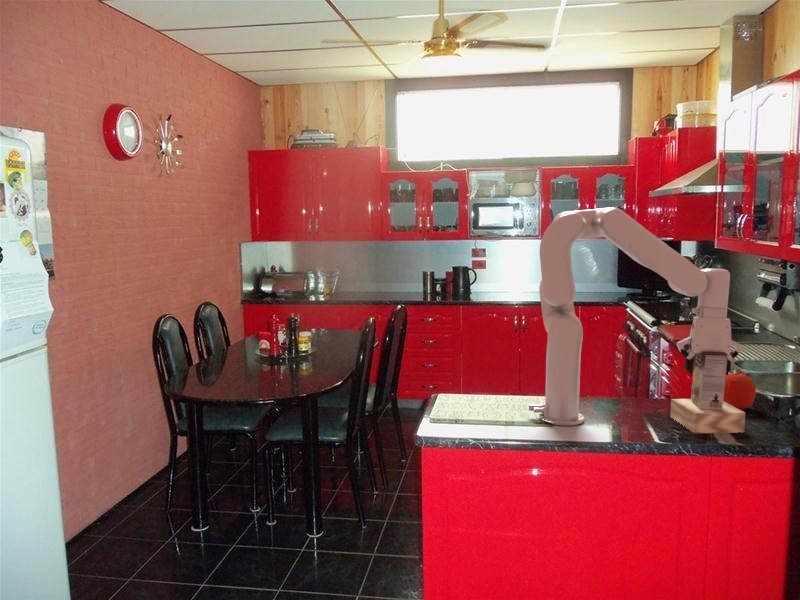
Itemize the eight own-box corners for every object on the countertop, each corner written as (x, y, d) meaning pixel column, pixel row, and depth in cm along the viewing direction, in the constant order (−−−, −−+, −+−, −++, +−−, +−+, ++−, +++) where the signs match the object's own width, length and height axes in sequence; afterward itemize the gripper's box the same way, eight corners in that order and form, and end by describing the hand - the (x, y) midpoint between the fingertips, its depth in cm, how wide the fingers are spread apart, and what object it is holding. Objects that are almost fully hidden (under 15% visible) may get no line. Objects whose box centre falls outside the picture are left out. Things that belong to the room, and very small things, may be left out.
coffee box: (689, 399, 189) (694, 345, 186) (713, 400, 188) (718, 346, 185) (699, 409, 180) (704, 352, 177) (723, 410, 179) (729, 354, 176)
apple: (758, 407, 201) (761, 371, 199) (748, 415, 193) (751, 377, 192) (723, 401, 207) (725, 366, 206) (712, 408, 200) (715, 371, 199)
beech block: (694, 434, 177) (695, 413, 176) (670, 418, 191) (671, 399, 190) (743, 433, 178) (745, 412, 177) (716, 418, 192) (717, 398, 191)
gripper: (683, 313, 177) (679, 375, 180) (750, 316, 176) (744, 377, 178) (675, 310, 185) (671, 368, 187) (739, 312, 183) (733, 371, 185)
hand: (706, 373), depth 182 cm, fingers open, 9 cm apart
